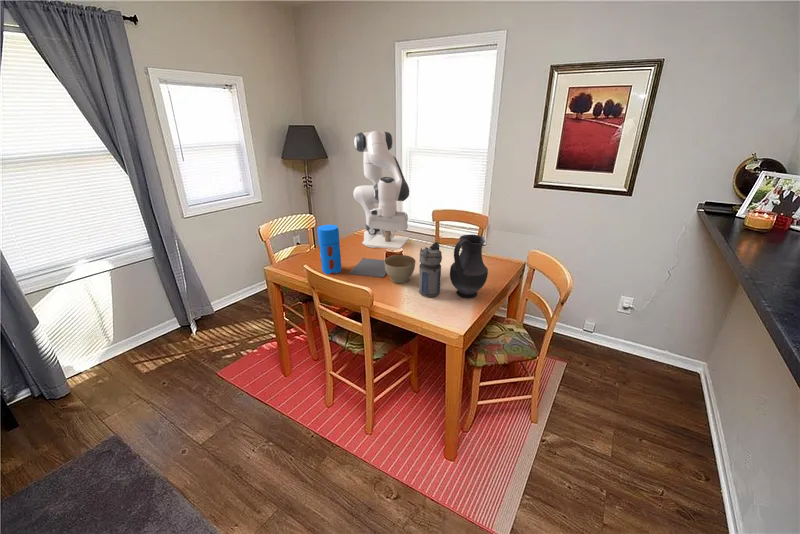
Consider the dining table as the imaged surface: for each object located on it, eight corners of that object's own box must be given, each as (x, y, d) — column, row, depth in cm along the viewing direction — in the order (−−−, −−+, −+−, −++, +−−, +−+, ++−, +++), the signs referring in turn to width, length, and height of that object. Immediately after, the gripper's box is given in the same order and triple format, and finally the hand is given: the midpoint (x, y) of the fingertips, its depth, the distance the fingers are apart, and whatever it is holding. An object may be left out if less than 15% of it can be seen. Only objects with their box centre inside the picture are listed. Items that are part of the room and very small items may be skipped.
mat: (363, 258, 208) (363, 258, 208) (395, 262, 203) (395, 261, 203) (348, 273, 188) (348, 272, 188) (383, 277, 184) (383, 276, 183)
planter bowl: (378, 282, 178) (378, 263, 174) (393, 271, 191) (393, 252, 187) (406, 289, 172) (406, 269, 167) (420, 276, 185) (420, 258, 180)
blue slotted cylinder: (322, 275, 187) (317, 231, 177) (321, 267, 196) (316, 225, 186) (342, 273, 190) (339, 229, 179) (340, 265, 199) (337, 223, 189)
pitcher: (491, 293, 167) (498, 234, 155) (468, 310, 153) (474, 246, 141) (461, 282, 178) (465, 226, 165) (437, 297, 164) (439, 237, 151)
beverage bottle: (445, 289, 171) (447, 241, 161) (433, 300, 161) (435, 250, 151) (427, 284, 176) (428, 238, 166) (414, 295, 166) (415, 246, 155)
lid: (377, 235, 189) (377, 225, 186) (409, 238, 184) (409, 228, 182) (365, 246, 173) (365, 235, 170) (400, 249, 168) (400, 238, 166)
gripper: (409, 210, 172) (409, 237, 178) (370, 208, 178) (371, 234, 183) (406, 213, 167) (406, 241, 172) (366, 211, 172) (367, 237, 177)
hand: (388, 237), depth 177 cm, fingers closed on lid, 3 cm apart
